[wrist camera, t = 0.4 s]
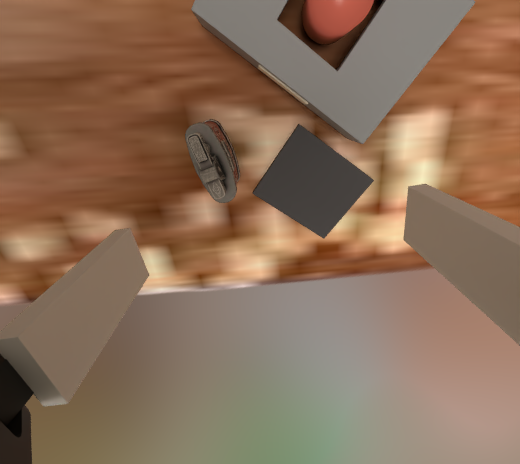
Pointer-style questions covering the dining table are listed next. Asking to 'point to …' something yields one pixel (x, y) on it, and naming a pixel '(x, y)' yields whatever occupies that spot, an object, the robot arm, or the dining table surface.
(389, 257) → the dining table surface
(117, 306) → the robot arm
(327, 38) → the red dome button
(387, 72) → the button panel
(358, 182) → the mat
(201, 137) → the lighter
